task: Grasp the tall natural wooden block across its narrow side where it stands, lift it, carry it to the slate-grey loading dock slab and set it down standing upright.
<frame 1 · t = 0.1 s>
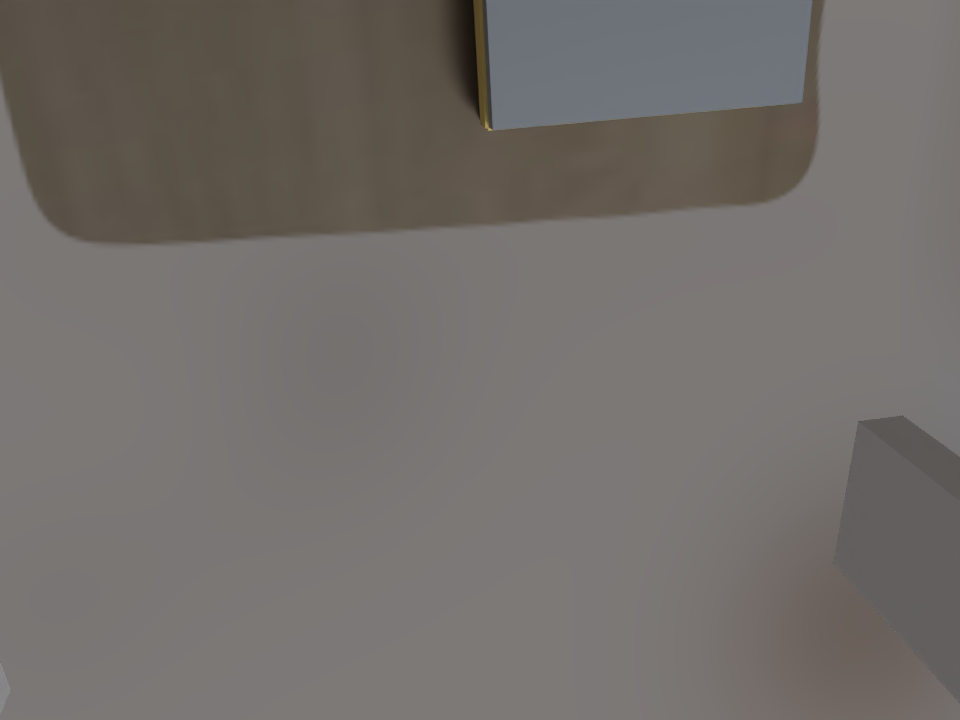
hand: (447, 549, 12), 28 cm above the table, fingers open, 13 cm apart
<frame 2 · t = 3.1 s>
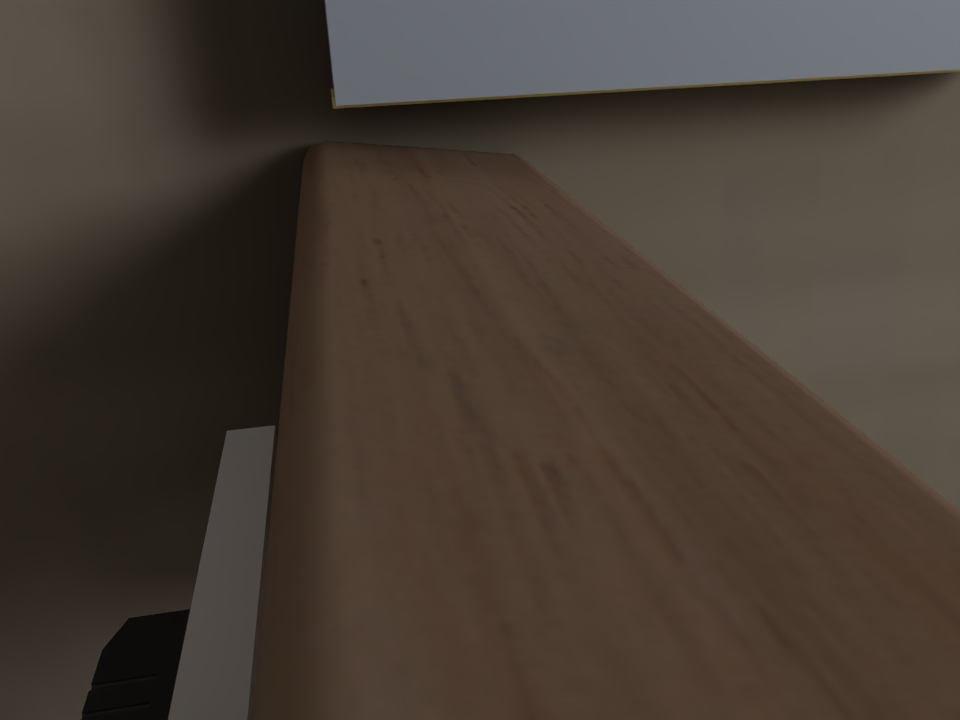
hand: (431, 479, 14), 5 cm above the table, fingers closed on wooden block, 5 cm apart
wooden block: (404, 348, 18), on the table, touching gripper
when the fingers open (9 cm above the table, at t = 8.3 s): wooden block drops 1 cm, resting on dock.
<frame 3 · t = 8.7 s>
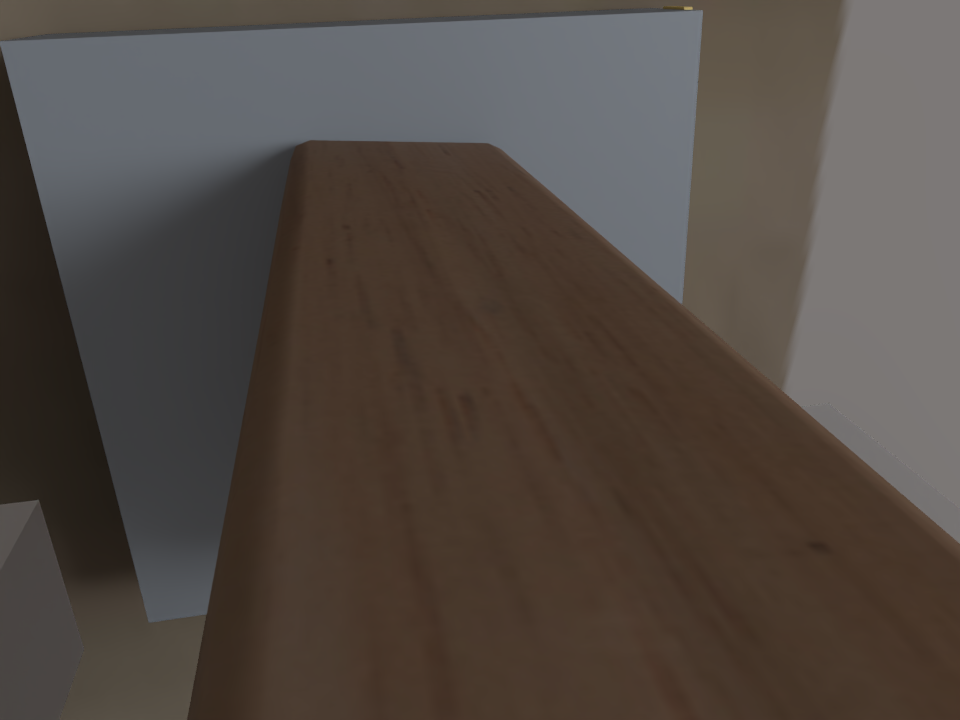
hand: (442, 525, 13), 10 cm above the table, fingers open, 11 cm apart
dock: (389, 302, 22), on the table
wooden block: (397, 332, 19), point 3 cm above the table, touching dock
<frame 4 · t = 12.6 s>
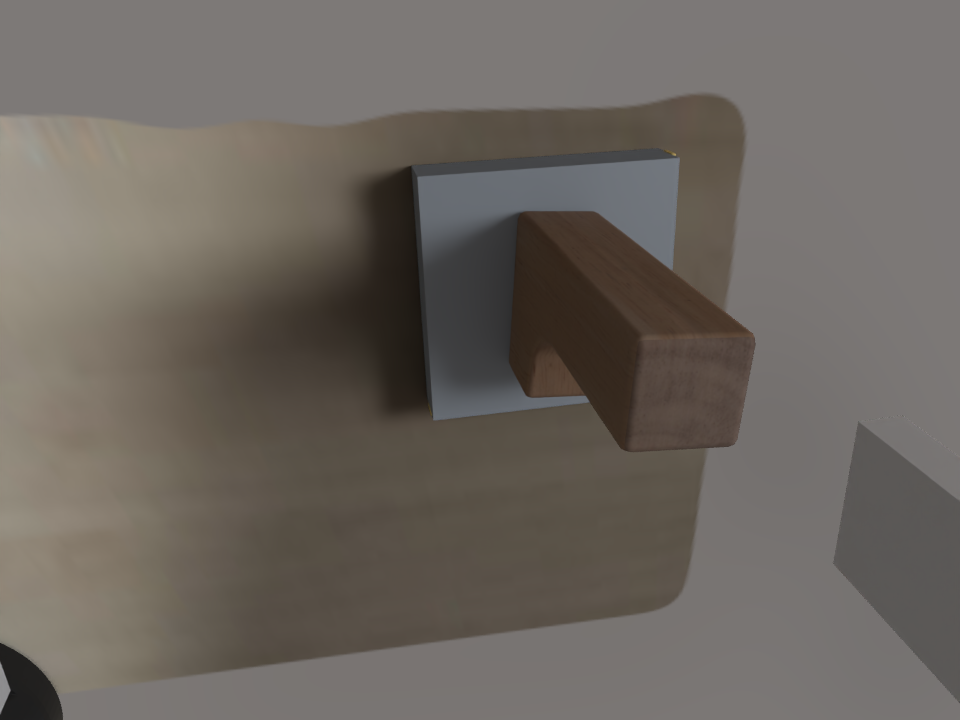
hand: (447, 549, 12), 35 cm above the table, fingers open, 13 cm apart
dock: (538, 277, 48), on the table
wooden block: (550, 288, 46), point 3 cm above the table, touching dock
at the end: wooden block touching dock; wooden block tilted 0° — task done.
